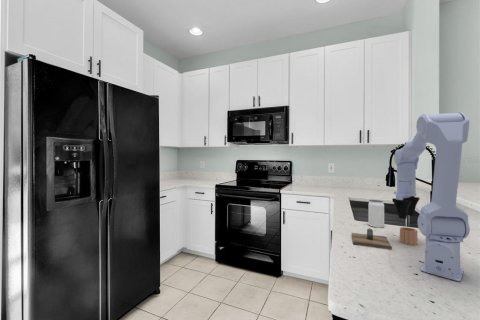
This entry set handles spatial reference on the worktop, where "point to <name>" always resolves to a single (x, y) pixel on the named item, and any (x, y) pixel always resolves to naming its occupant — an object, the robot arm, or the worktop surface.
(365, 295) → the worktop surface
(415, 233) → the tube
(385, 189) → the worktop surface
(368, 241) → the holder
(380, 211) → the can
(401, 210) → the robot arm
